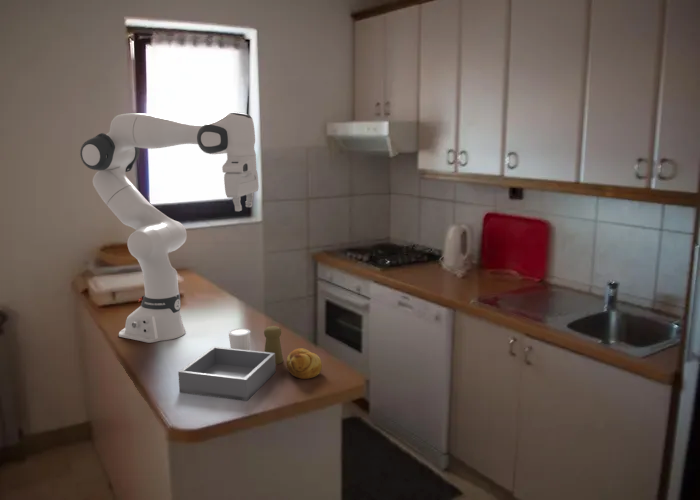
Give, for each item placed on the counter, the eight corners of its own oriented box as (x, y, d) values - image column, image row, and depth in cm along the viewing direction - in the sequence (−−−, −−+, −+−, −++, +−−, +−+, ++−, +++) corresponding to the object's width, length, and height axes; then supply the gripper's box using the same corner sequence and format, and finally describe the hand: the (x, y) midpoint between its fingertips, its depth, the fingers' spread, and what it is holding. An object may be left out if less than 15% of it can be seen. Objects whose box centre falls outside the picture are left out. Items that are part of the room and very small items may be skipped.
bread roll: (280, 367, 188) (279, 342, 186) (310, 362, 192) (310, 337, 190) (295, 383, 176) (294, 357, 175) (326, 378, 180) (326, 351, 179)
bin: (179, 392, 171) (178, 371, 169) (214, 365, 190) (213, 346, 188) (246, 401, 165) (246, 379, 164) (275, 372, 184) (275, 353, 183)
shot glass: (241, 358, 195) (240, 336, 194) (224, 353, 199) (224, 332, 198) (255, 351, 201) (254, 330, 200) (239, 347, 205) (238, 326, 203)
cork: (279, 365, 189) (278, 331, 187) (260, 364, 191) (259, 329, 188) (285, 358, 195) (284, 324, 193) (267, 356, 196) (266, 323, 194)
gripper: (244, 162, 206) (245, 204, 209) (219, 167, 186) (222, 213, 189) (262, 162, 205) (264, 204, 207) (239, 167, 185) (242, 213, 188)
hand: (243, 208), depth 198 cm, fingers open, 8 cm apart
